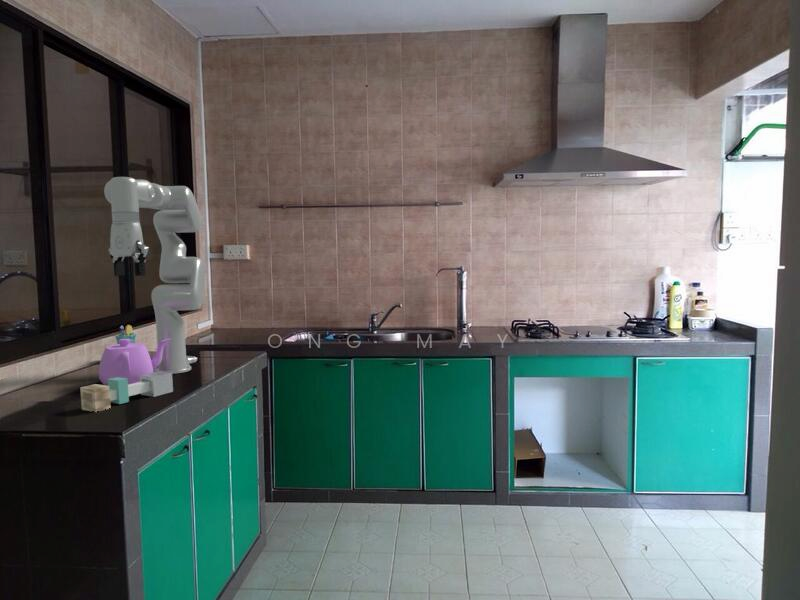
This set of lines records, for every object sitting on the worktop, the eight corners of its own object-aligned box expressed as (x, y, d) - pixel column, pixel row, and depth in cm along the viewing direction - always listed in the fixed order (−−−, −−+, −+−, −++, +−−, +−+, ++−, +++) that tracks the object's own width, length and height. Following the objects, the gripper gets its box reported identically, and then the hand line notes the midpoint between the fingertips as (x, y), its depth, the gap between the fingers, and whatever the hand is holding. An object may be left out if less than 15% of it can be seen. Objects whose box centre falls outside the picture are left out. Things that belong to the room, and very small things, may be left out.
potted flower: (133, 363, 238) (130, 325, 237) (111, 364, 236) (109, 326, 235) (140, 357, 252) (138, 321, 250) (120, 358, 250) (118, 322, 249)
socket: (96, 405, 173) (95, 384, 172) (110, 408, 169) (109, 386, 169) (81, 409, 169) (80, 387, 168) (95, 412, 166) (94, 389, 165)
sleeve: (160, 389, 191) (159, 371, 190) (173, 391, 188) (172, 372, 187) (140, 394, 185) (139, 375, 184) (153, 396, 182) (152, 377, 181)
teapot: (98, 394, 187) (94, 346, 185) (100, 381, 206) (97, 337, 204) (176, 385, 196) (173, 339, 195) (171, 374, 215) (169, 332, 214)
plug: (145, 393, 185) (143, 371, 185) (155, 394, 183) (154, 372, 182) (87, 407, 170) (86, 383, 169) (98, 409, 167) (96, 385, 166)
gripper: (96, 220, 184) (100, 276, 185) (133, 217, 175) (137, 276, 176) (119, 220, 190) (122, 275, 192) (155, 217, 181) (159, 275, 183)
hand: (129, 275), depth 184 cm, fingers open, 9 cm apart
